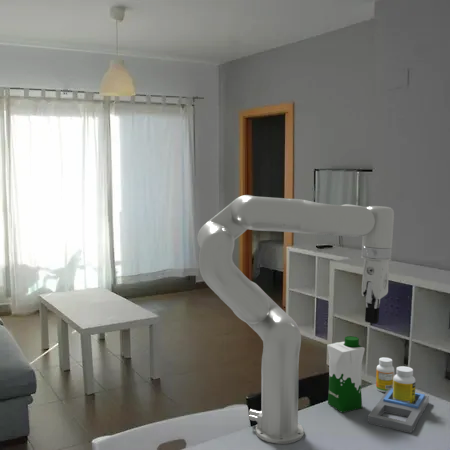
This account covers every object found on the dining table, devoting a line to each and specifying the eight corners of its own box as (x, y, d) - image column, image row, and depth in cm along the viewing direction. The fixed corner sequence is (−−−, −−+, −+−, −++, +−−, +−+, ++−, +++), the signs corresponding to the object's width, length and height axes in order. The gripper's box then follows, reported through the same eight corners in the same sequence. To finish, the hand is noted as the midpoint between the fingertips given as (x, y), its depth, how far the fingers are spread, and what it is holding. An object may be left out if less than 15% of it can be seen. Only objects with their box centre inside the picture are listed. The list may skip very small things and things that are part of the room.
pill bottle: (416, 410, 159) (417, 373, 158) (393, 409, 160) (394, 372, 159) (413, 401, 165) (414, 365, 164) (391, 400, 166) (392, 364, 165)
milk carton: (366, 408, 161) (368, 341, 159) (340, 414, 157) (342, 345, 155) (347, 397, 169) (349, 333, 166) (322, 402, 165) (323, 337, 163)
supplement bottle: (379, 384, 178) (380, 355, 177) (396, 388, 175) (397, 358, 174) (373, 390, 174) (374, 360, 173) (390, 394, 171) (391, 363, 170)
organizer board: (367, 422, 152) (367, 413, 151) (388, 394, 170) (389, 386, 170) (411, 433, 146) (411, 423, 146) (428, 402, 165) (428, 394, 164)
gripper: (384, 258, 137) (379, 331, 139) (397, 252, 150) (392, 318, 152) (354, 255, 141) (349, 326, 142) (369, 249, 154) (365, 314, 155)
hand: (371, 322), depth 147 cm, fingers closed
